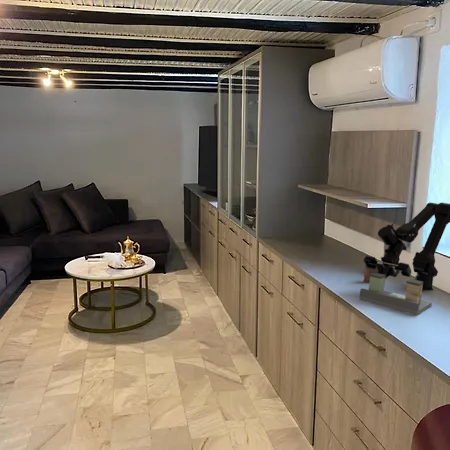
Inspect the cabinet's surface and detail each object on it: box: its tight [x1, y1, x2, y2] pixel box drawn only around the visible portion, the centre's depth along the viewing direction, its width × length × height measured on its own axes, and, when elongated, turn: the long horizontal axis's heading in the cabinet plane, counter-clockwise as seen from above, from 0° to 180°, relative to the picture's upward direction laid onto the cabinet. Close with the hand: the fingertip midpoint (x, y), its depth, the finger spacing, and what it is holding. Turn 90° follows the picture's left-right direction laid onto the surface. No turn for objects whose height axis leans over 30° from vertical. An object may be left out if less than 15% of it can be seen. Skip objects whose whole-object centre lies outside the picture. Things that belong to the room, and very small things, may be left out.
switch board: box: [358, 288, 433, 316], centre depth 185 cm, size 15×23×4 cm, turn 47°
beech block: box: [404, 278, 423, 303], centre depth 179 cm, size 4×5×9 cm
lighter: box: [362, 265, 378, 284], centre depth 212 cm, size 8×3×10 cm, turn 105°
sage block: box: [368, 272, 386, 293], centre depth 187 cm, size 4×5×9 cm
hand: (379, 282), depth 188 cm, fingers closed, pressing on sage block
